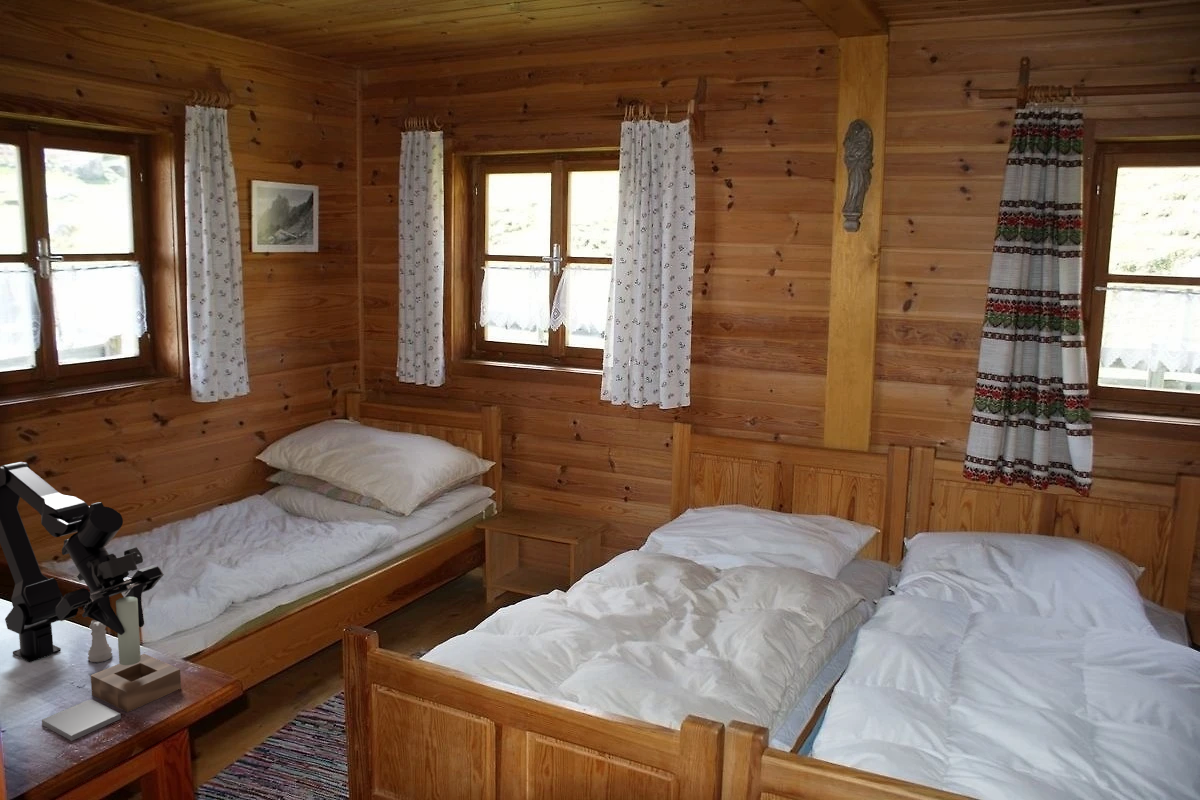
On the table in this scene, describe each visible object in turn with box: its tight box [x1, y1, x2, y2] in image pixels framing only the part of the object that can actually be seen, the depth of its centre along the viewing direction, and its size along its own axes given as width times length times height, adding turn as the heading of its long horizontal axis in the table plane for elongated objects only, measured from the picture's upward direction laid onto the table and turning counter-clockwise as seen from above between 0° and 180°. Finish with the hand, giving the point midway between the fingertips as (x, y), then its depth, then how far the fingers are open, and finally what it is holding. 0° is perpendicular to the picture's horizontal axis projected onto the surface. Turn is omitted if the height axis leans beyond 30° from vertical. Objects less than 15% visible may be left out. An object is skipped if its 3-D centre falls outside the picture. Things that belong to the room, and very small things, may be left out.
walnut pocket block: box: [90, 653, 182, 713], centre depth 182 cm, size 11×11×4 cm
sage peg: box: [115, 596, 141, 665], centre depth 179 cm, size 4×4×12 cm
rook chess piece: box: [87, 620, 113, 664], centre depth 194 cm, size 4×4×8 cm
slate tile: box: [41, 698, 122, 742], centre depth 171 cm, size 9×9×1 cm
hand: (132, 629), depth 178 cm, fingers closed on sage peg, 4 cm apart
